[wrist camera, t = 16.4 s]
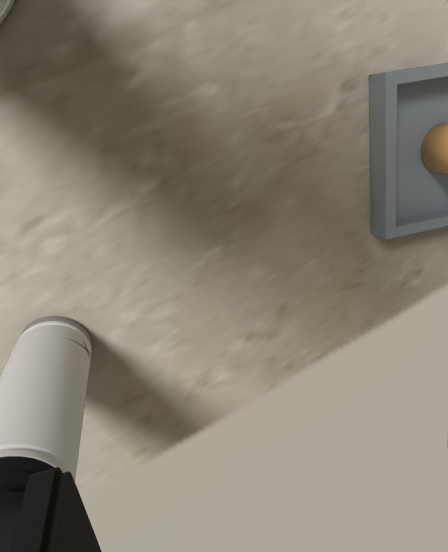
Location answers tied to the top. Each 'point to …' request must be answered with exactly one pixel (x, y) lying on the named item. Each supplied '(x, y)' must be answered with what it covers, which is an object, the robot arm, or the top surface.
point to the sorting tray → (406, 151)
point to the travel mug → (40, 409)
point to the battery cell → (436, 149)
